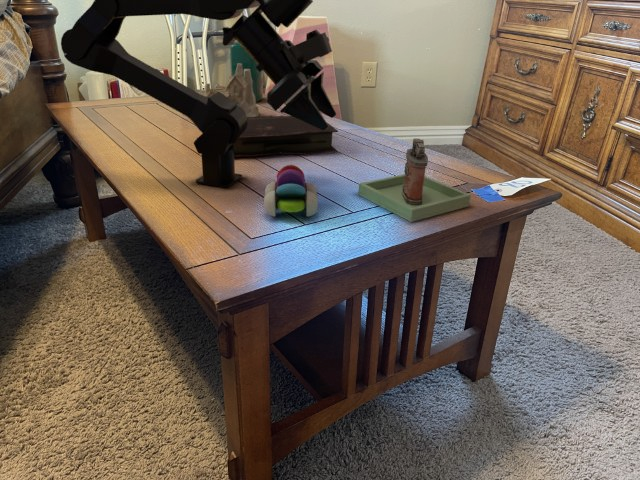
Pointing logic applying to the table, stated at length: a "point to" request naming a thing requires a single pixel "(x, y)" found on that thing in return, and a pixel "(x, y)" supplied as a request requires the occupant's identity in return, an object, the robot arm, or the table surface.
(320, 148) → the diary
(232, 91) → the ceramic cottage
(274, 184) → the rainbow wheeled toy
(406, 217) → the dish
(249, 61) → the pitcher
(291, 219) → the table surface
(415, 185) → the lighter
